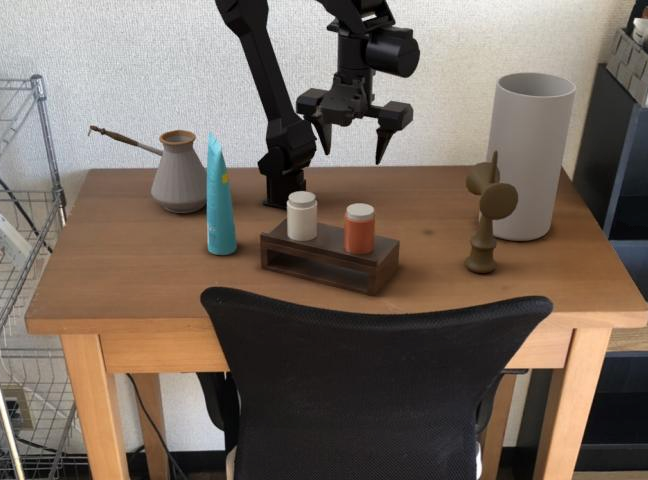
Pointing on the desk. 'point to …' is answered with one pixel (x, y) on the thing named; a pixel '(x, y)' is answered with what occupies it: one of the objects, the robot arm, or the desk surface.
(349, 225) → the orange lidded jar
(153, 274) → the desk surface
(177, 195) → the coffee pot
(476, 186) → the kendama
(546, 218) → the cylinder vase
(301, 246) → the shelf
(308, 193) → the white lidded jar
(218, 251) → the tube
